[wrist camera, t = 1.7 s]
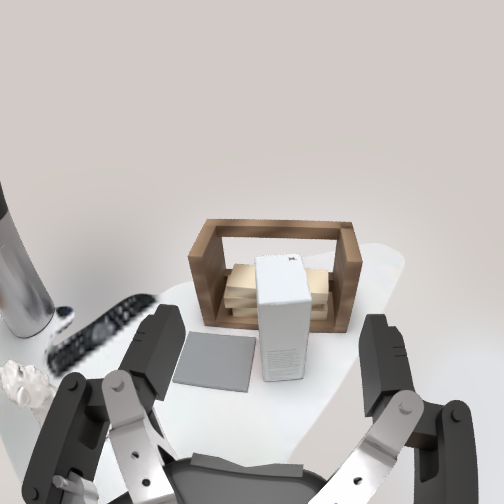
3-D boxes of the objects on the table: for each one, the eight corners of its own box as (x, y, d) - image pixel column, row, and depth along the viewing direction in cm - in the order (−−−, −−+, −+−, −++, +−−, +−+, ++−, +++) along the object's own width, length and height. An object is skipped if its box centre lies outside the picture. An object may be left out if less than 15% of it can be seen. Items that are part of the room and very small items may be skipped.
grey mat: (173, 382, 28) (172, 380, 28) (190, 333, 34) (189, 331, 34) (247, 392, 27) (246, 390, 27) (256, 339, 33) (255, 337, 32)
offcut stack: (224, 318, 34) (218, 289, 32) (232, 290, 38) (228, 261, 36) (326, 323, 33) (331, 293, 30) (324, 293, 37) (328, 264, 34)
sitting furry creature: (134, 418, 24) (76, 351, 17) (94, 479, 18) (12, 433, 11) (76, 381, 28) (22, 311, 21) (39, 431, 21) (-30, 371, 14)
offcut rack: (204, 325, 35) (187, 256, 29) (218, 285, 41) (207, 219, 35) (346, 332, 32) (362, 261, 26) (341, 289, 38) (351, 222, 32)
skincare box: (259, 339, 33) (253, 254, 26) (296, 336, 33) (301, 251, 26) (262, 384, 28) (256, 304, 21) (303, 380, 28) (315, 299, 21)
